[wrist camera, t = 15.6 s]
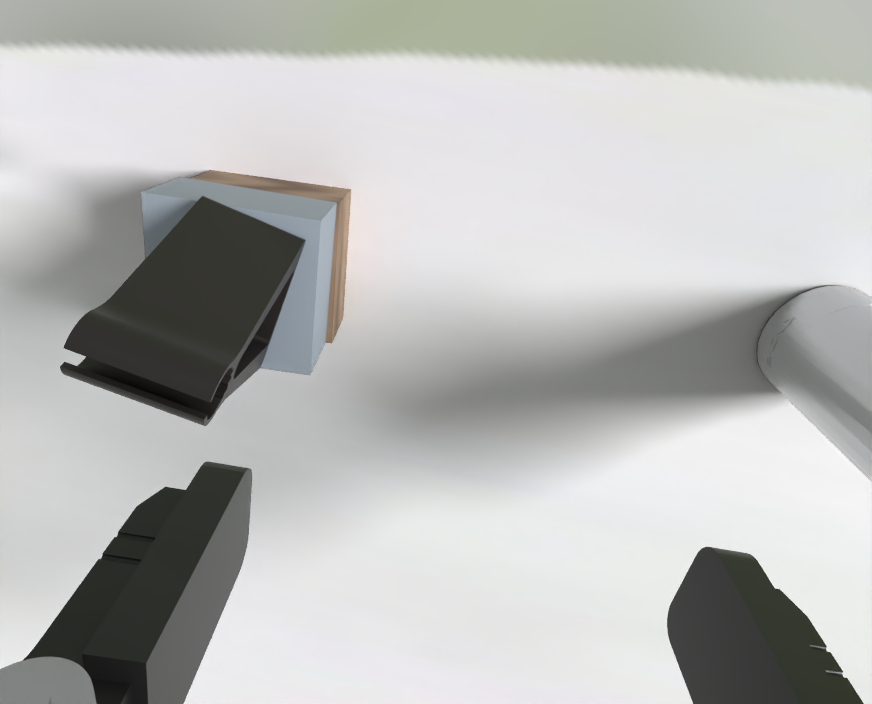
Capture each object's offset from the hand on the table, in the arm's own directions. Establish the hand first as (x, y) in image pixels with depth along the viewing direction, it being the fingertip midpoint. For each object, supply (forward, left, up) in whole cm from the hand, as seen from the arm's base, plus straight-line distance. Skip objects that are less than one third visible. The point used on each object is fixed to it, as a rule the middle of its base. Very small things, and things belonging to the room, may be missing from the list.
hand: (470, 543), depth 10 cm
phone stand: (+12, +6, -25) cm, 28 cm away
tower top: (+12, +7, -29) cm, 33 cm away
